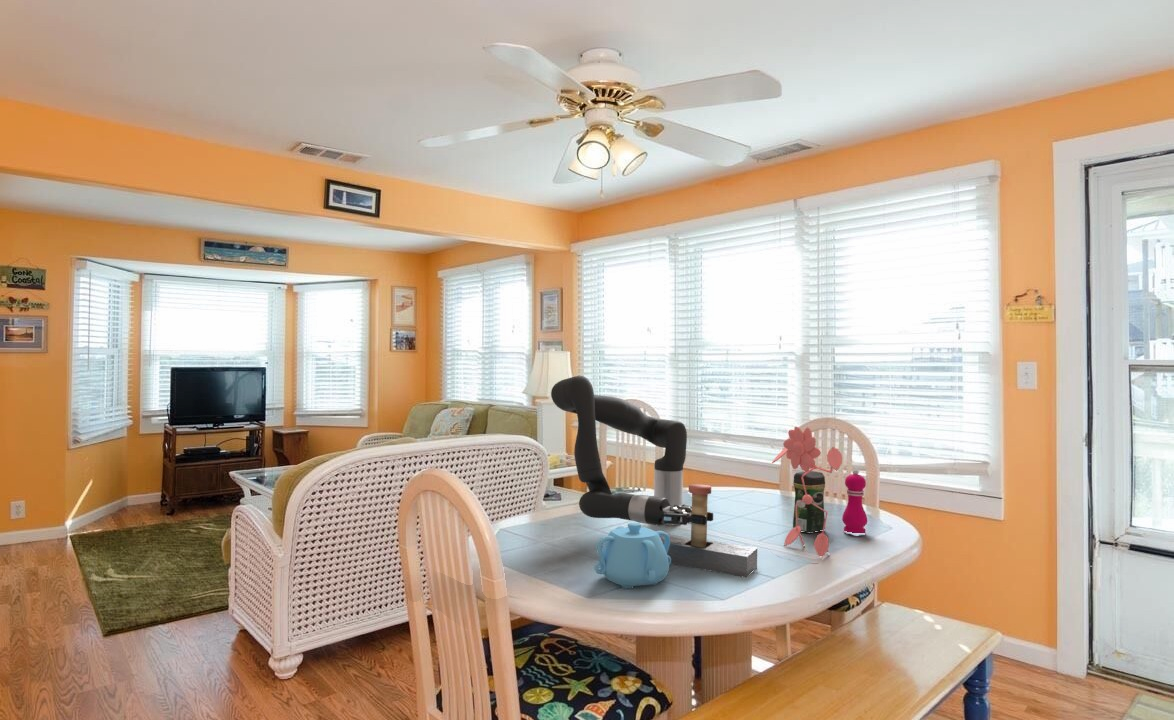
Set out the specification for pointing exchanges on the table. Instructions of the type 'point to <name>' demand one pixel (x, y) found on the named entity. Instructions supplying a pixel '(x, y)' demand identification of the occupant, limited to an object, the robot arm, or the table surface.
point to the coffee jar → (809, 514)
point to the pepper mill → (855, 504)
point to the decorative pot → (633, 556)
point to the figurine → (804, 454)
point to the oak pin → (699, 513)
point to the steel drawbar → (712, 556)
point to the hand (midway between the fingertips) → (709, 518)
